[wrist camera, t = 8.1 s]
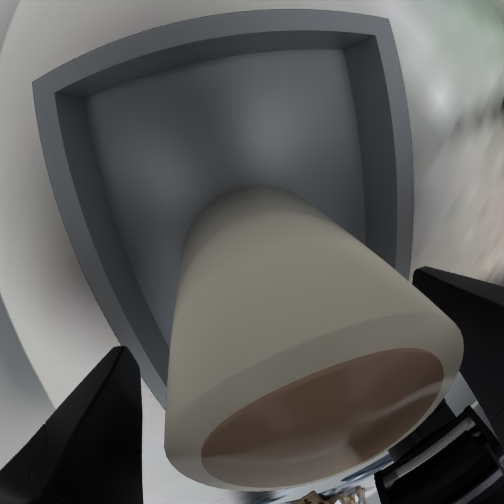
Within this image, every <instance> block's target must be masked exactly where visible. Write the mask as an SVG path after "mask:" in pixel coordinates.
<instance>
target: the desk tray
mask: <svg viewBox="0 0 504 504" xmlns="http://www.w3.org/2000/svg"><path fill="white" fill-rule="evenodd" d="M32 86H33V96H34V104H35V111H36V118H37V124H38V129H39V135H40V140H41V145H42V149H43V154H44V158H45V162H46V166H47V170H48V174H49V178H50V182H51V185H52V189H53V192H54V195H55V199H56V202H57V205H58V208H59V211H60V214H61V217H62V220H63V223H64V226H65V228H66V231H67V234H68V236H69V239H70V242H71V244H72V247H73V249H74V252H75V254H76V257H77V259H78V261H79V264H80V266H81V268H82V271H83V273H84V275H85V277H86V279H87V282H88V284H89V286H90V288H91V290H92V292H93V294H94V296H95V298H96V300H97V302H98V304H99V306H100V308H101V310H102V312H103V314H104V316H105V318H106V319H107V321H108V323H109V325H110V327H111V329H112V330H113V332H114V334H115V336H116V337H117V339H118V341H119V343H120V344H121V346H127V347H128V348H129V350H130V351H131V353H132V355H133V356H134V358H135V360H136V361H137V363H138V365H139V367H140V376H141V377H142V379H143V380H144V382H145V383H146V385H147V386H148V388H149V389H150V390H151V392H152V393H153V395H154V396H155V397H156V399H157V400H158V402H159V403H160V404H161V406H162V407H163V408H164V410H165V411H166V394H167V379H168V367H169V355H170V345H171V335H172V326H173V317H174V309H175V301H176V293H177V286H178V279H179V272H180V265H181V259H182V253H183V247H184V242H185V238H186V235H187V233H188V230H189V228H190V226H191V224H192V223H193V221H194V220H195V218H196V217H197V216H198V214H199V213H200V212H201V211H202V210H203V209H204V208H205V207H206V206H207V205H208V204H209V203H211V202H212V201H213V200H215V199H216V198H218V197H219V196H221V195H223V194H225V193H227V192H229V191H232V190H235V189H238V188H241V187H247V186H253V185H266V186H274V187H278V188H282V189H285V190H287V191H290V192H292V193H294V194H296V195H297V196H299V197H301V198H302V199H303V200H305V201H306V202H308V203H309V204H310V205H312V206H313V207H315V208H316V209H317V210H319V211H320V212H322V213H323V214H324V215H326V216H327V217H328V218H330V219H331V220H332V221H334V222H335V223H336V224H338V225H339V226H340V227H342V228H343V229H344V230H346V231H347V232H348V233H350V234H351V235H352V236H354V237H355V238H356V239H357V240H359V241H360V242H361V243H363V244H364V245H365V246H366V247H368V248H369V249H370V250H371V251H373V252H374V253H375V254H376V255H378V256H379V257H380V258H381V259H383V260H384V261H385V262H386V263H387V264H389V265H390V266H391V267H392V268H394V269H395V270H396V271H397V272H398V273H400V274H401V275H402V276H403V277H404V278H405V279H407V280H408V281H409V272H410V262H411V251H412V236H413V211H414V182H413V157H412V142H411V131H410V122H409V113H408V106H407V99H406V93H405V87H404V81H403V76H402V71H401V66H400V61H399V57H398V52H397V48H396V44H395V40H394V37H393V33H392V29H391V26H390V22H389V19H387V18H382V17H377V16H371V15H365V14H358V13H350V12H341V11H330V10H314V9H269V10H253V11H242V12H233V13H225V14H218V15H211V16H205V17H200V18H195V19H190V20H185V21H180V22H176V23H172V24H168V25H164V26H160V27H157V28H153V29H150V30H146V31H143V32H140V33H137V34H134V35H131V36H128V37H125V38H122V39H120V40H117V41H114V42H112V43H109V44H107V45H104V46H102V47H99V48H97V49H95V50H92V51H90V52H88V53H86V54H83V55H81V56H79V57H77V58H75V59H73V60H71V61H69V62H67V63H65V64H63V65H61V66H59V67H57V68H55V69H54V70H52V71H50V72H48V73H47V74H45V75H43V76H41V77H40V78H38V79H36V80H35V81H33V82H32Z"/></svg>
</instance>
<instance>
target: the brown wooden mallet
mask: <svg viewBox="0 0 504 504" xmlns="http://www.w3.org/2000/svg"><path fill="white" fill-rule="evenodd" d="M338 498H339V496H338V495H337V494H335V495H329V496H325V495H322V494H317V493H316V492H315V491H312V492H310V493H309V494H307V495H306V496H304V497H302V498H301V499H299V500H297V501H295V502H293V503H291V504H335V502H336V501H337V500H338Z"/></svg>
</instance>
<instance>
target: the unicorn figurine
mask: <svg viewBox="0 0 504 504" xmlns="http://www.w3.org/2000/svg"><path fill="white" fill-rule="evenodd" d="M355 490H356V492H357V496H358V498H359V500H358V504H368V502H367V500H366V498H365V494H364V492H365V489H364V488H363V489H362V488H361V487H360V486H359V487H357V488H356V489H355ZM338 496H339V498H338V499H339V500H340V502H341V503H342V504H345V503H346V504H357V502H355V497H354V495H353V494H351V495H348V496H344V492H342V493H341V494H338ZM344 499H345V501H344ZM362 499H363V500H362Z"/></svg>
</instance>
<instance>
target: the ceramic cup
mask: <svg viewBox="0 0 504 504" xmlns="http://www.w3.org/2000/svg"><path fill="white" fill-rule="evenodd" d="M463 351H464V343H463V337H462V334H461V331H460V329H459V328H458V327H457V325H456V324H455V323H454V322H453V321H452V320H451V319H450V318H449V317H448V316H447V315H446V314H445V313H444V312H443V311H441V310H440V309H439V308H438V307H437V306H436V305H435V304H434V303H433V302H432V301H430V300H429V299H428V298H427V297H426V296H425V295H424V294H423V293H422V292H420V291H419V290H418V289H417V288H416V287H415V286H414V285H412V284H411V283H410V282H409V281H408V280H407V279H405V278H404V277H403V276H402V275H401V274H400V273H398V272H397V271H396V270H395V269H394V268H392V267H391V266H390V265H389V264H387V263H386V262H385V261H384V260H383V259H381V258H380V257H379V256H378V255H376V254H375V253H374V252H373V251H371V250H370V249H369V248H368V247H366V246H365V245H364V244H363V243H361V242H360V241H359V240H357V239H356V238H355V237H354V236H352V235H351V234H350V233H348V232H347V231H346V230H344V229H343V228H342V227H340V226H339V225H338V224H336V223H335V222H334V221H332V220H331V219H330V218H328V217H327V216H326V215H324V214H323V213H322V212H320V211H319V210H317V209H316V208H315V207H313V206H312V205H310V204H309V203H308V202H306V201H305V200H303V199H302V198H301V197H299V196H297V195H296V194H294V193H292V192H290V191H287V190H285V189H282V188H278V187H274V186H266V185H253V186H247V187H241V188H238V189H235V190H232V191H229V192H227V193H225V194H223V195H221V196H219V197H218V198H216V199H215V200H213V201H212V202H211V203H209V204H208V205H207V206H206V207H205V208H204V209H203V210H202V211H201V212H200V213H199V214H198V216H197V217H196V218H195V220H194V221H193V223H192V224H191V226H190V228H189V230H188V233H187V235H186V238H185V242H184V247H183V253H182V259H181V265H180V272H179V279H178V286H177V293H176V301H175V309H174V317H173V326H172V335H171V345H170V355H169V367H168V379H167V394H166V412H165V439H164V448H165V452H166V456H167V458H168V460H169V461H170V463H171V464H172V465H173V466H174V467H175V468H176V469H177V470H178V471H179V472H180V473H182V474H183V475H185V476H186V477H188V478H190V479H192V480H195V481H197V482H199V483H202V484H205V485H208V486H212V487H216V488H221V489H228V490H236V491H272V490H281V489H288V488H294V487H299V486H303V485H308V484H312V483H315V482H319V481H322V480H325V479H328V478H331V477H334V476H337V475H340V474H342V473H345V472H347V471H349V470H352V469H354V468H356V467H358V466H360V465H362V464H364V463H366V462H368V461H370V460H372V459H374V458H375V457H377V456H379V455H380V454H382V453H384V452H385V451H387V450H388V449H390V448H391V447H393V446H394V445H396V444H397V443H398V442H400V441H401V440H402V439H404V438H405V437H406V436H407V435H409V434H410V433H411V432H412V431H413V430H415V429H416V428H417V427H418V426H419V425H420V424H421V423H422V422H423V421H424V420H425V419H426V418H427V417H428V416H429V415H430V414H431V413H432V412H433V411H434V409H435V408H436V407H437V406H438V405H439V403H440V402H441V401H442V399H443V398H444V396H445V395H446V394H447V392H448V391H449V389H450V387H451V385H452V384H453V382H454V380H455V378H456V376H457V373H458V371H459V369H460V365H461V362H462V358H463Z"/></svg>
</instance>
